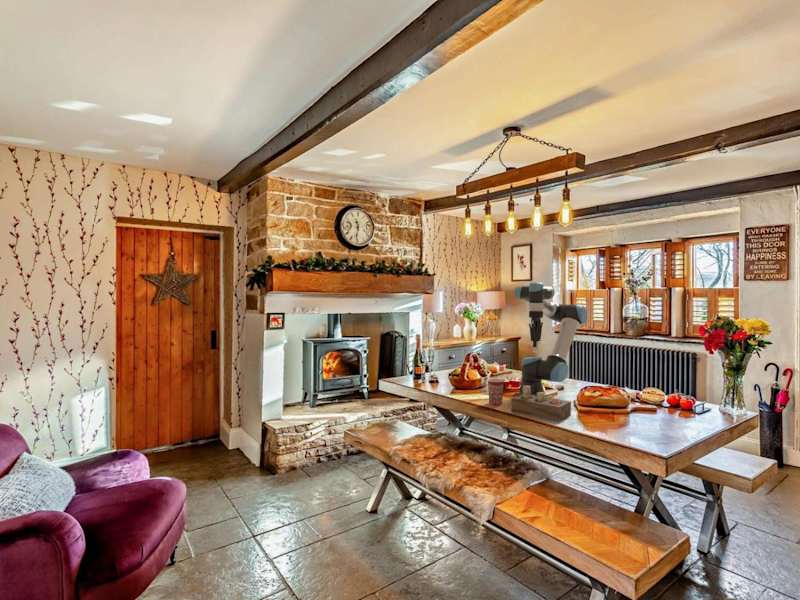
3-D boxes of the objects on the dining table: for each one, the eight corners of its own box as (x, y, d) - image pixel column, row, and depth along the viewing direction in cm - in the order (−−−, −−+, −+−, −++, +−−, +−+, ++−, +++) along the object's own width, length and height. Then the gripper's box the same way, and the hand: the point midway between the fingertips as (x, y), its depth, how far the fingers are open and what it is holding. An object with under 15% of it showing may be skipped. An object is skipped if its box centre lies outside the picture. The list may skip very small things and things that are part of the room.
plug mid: (538, 407, 235) (538, 391, 235) (546, 408, 232) (546, 392, 232) (535, 409, 232) (535, 393, 232) (542, 410, 229) (542, 394, 229)
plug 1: (524, 400, 240) (524, 385, 240) (531, 401, 238) (531, 386, 237) (521, 402, 237) (521, 386, 237) (528, 403, 235) (528, 387, 234)
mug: (496, 406, 245) (496, 382, 245) (484, 403, 253) (484, 379, 252) (511, 403, 253) (511, 379, 252) (499, 399, 260) (499, 376, 260)
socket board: (523, 406, 246) (523, 393, 246) (570, 415, 229) (570, 401, 229) (511, 411, 236) (511, 398, 236) (559, 421, 218) (559, 407, 218)
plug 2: (553, 413, 230) (553, 397, 229) (561, 414, 227) (561, 398, 227) (550, 414, 227) (550, 398, 227) (557, 416, 224) (558, 399, 224)
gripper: (534, 309, 254) (534, 350, 254) (524, 310, 244) (524, 353, 245) (547, 310, 249) (547, 352, 249) (537, 311, 239) (537, 354, 240)
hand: (535, 352), depth 247 cm, fingers closed
